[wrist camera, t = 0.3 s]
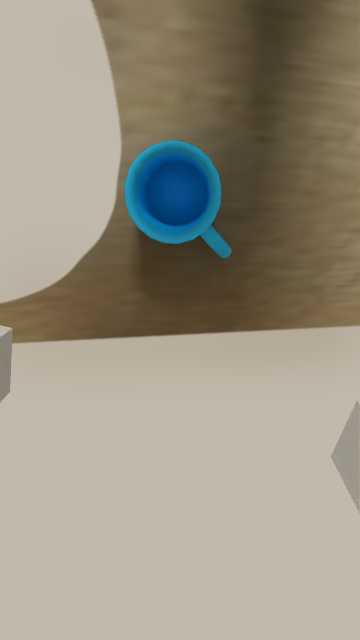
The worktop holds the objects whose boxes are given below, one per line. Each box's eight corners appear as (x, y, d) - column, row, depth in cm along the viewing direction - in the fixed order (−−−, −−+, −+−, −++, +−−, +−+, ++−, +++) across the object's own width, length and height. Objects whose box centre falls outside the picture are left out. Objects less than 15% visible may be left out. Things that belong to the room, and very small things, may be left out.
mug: (123, 191, 37) (104, 191, 29) (179, 132, 35) (175, 116, 27) (198, 273, 40) (199, 293, 32) (254, 224, 37) (269, 232, 30)
